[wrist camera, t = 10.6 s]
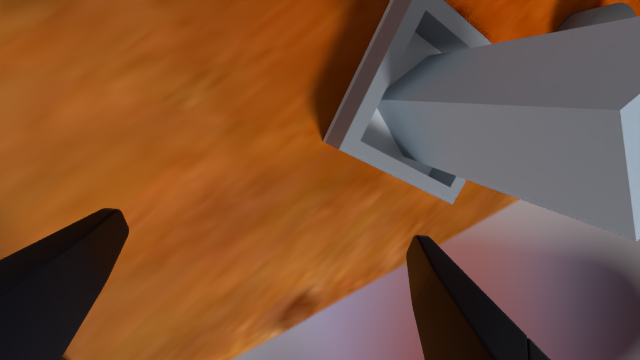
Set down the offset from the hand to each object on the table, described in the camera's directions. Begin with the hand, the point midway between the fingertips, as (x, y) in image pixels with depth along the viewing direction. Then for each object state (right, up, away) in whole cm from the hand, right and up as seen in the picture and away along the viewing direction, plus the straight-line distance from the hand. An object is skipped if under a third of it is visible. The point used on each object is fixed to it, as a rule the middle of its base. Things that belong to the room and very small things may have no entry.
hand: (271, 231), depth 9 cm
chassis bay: (+8, +7, +12) cm, 16 cm away
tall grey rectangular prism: (+8, +7, +11) cm, 16 cm away
